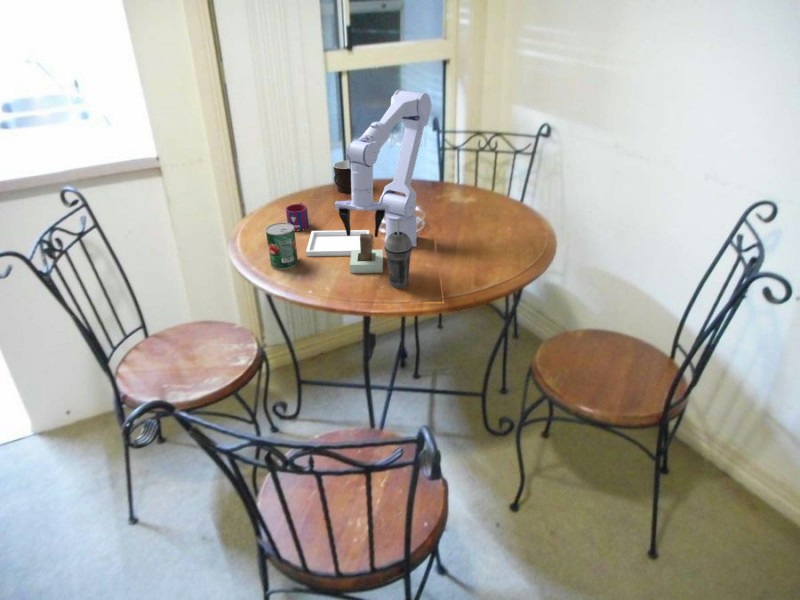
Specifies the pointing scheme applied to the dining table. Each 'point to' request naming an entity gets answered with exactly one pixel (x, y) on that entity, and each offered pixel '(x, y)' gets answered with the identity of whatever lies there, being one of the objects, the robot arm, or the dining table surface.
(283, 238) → the canned tomato
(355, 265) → the mint square peg hole
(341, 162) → the coffee mug
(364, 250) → the walnut peg
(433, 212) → the dining table surface
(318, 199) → the dining table surface
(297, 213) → the cup
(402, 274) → the beverage cup
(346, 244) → the tray
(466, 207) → the dining table surface
